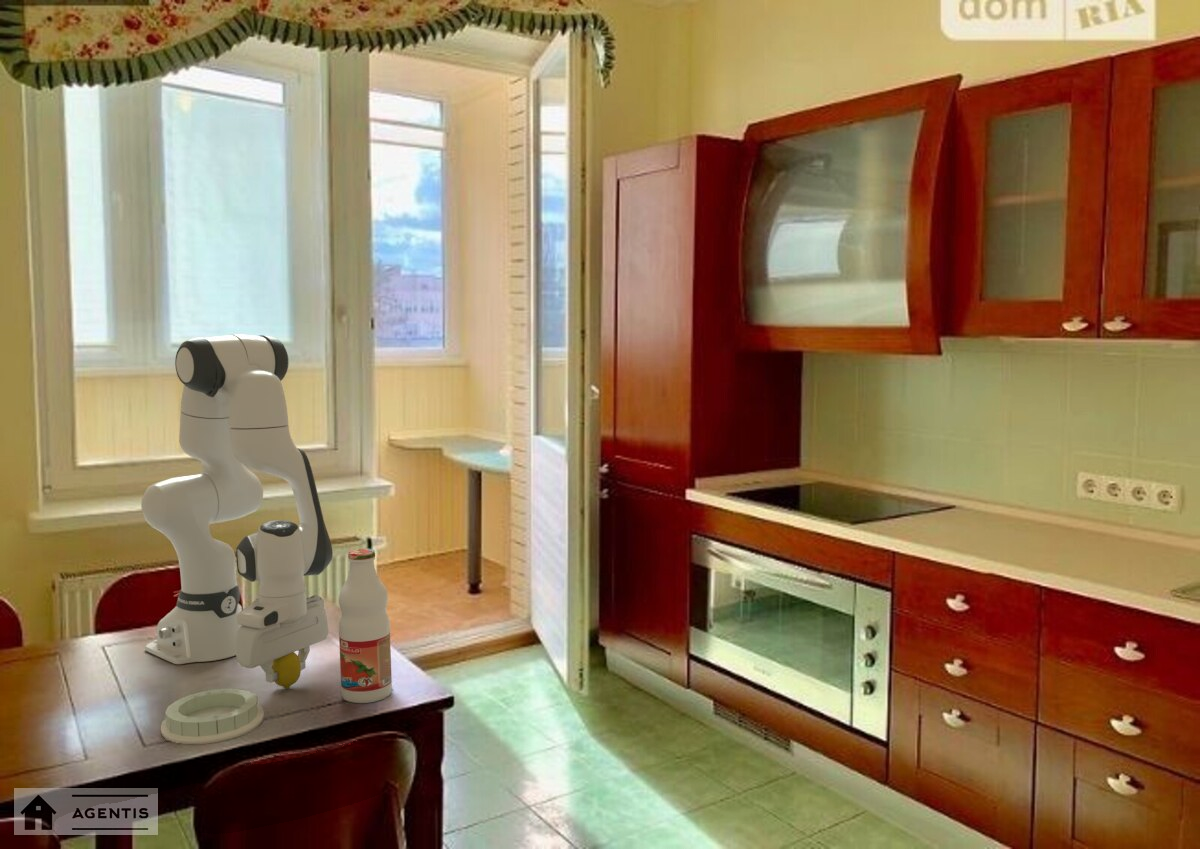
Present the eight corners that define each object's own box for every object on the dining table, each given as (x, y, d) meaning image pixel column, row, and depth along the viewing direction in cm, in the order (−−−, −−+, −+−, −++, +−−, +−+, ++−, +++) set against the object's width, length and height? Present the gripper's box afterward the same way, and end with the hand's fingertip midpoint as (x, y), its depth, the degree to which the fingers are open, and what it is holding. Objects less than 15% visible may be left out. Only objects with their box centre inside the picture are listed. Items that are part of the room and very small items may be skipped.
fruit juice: (401, 694, 185) (396, 551, 182) (357, 708, 179) (351, 560, 175) (376, 681, 192) (370, 543, 189) (332, 694, 185) (326, 551, 182)
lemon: (292, 695, 185) (290, 654, 184) (266, 693, 186) (264, 652, 186) (307, 684, 191) (305, 645, 190) (281, 682, 192) (279, 643, 191)
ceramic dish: (139, 732, 169) (138, 713, 169) (220, 698, 184) (219, 680, 184) (205, 752, 161) (204, 732, 161) (284, 715, 176) (283, 697, 175)
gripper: (311, 590, 197) (314, 656, 199) (228, 618, 180) (232, 689, 181) (334, 594, 194) (336, 661, 196) (252, 622, 176) (256, 696, 178)
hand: (286, 675), depth 188 cm, fingers closed on lemon, 6 cm apart
